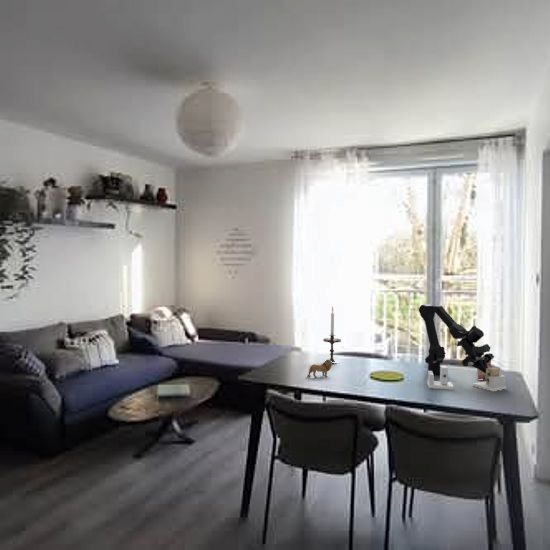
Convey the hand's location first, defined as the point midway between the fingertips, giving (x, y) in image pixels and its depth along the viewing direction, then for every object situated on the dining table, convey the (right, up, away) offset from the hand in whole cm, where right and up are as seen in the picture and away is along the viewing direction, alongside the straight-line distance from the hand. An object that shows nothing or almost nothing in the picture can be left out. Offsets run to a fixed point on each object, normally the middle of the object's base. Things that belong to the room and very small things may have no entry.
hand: (488, 373), depth 241 cm
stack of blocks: (+9, -7, +25) cm, 27 cm away
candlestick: (-71, -5, +58) cm, 92 cm away
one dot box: (-24, -6, +1) cm, 25 cm away
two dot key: (+1, -5, -2) cm, 5 cm away
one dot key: (-22, -4, 0) cm, 23 cm away
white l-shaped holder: (0, -7, -1) cm, 7 cm away
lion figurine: (-82, -6, +18) cm, 85 cm away
